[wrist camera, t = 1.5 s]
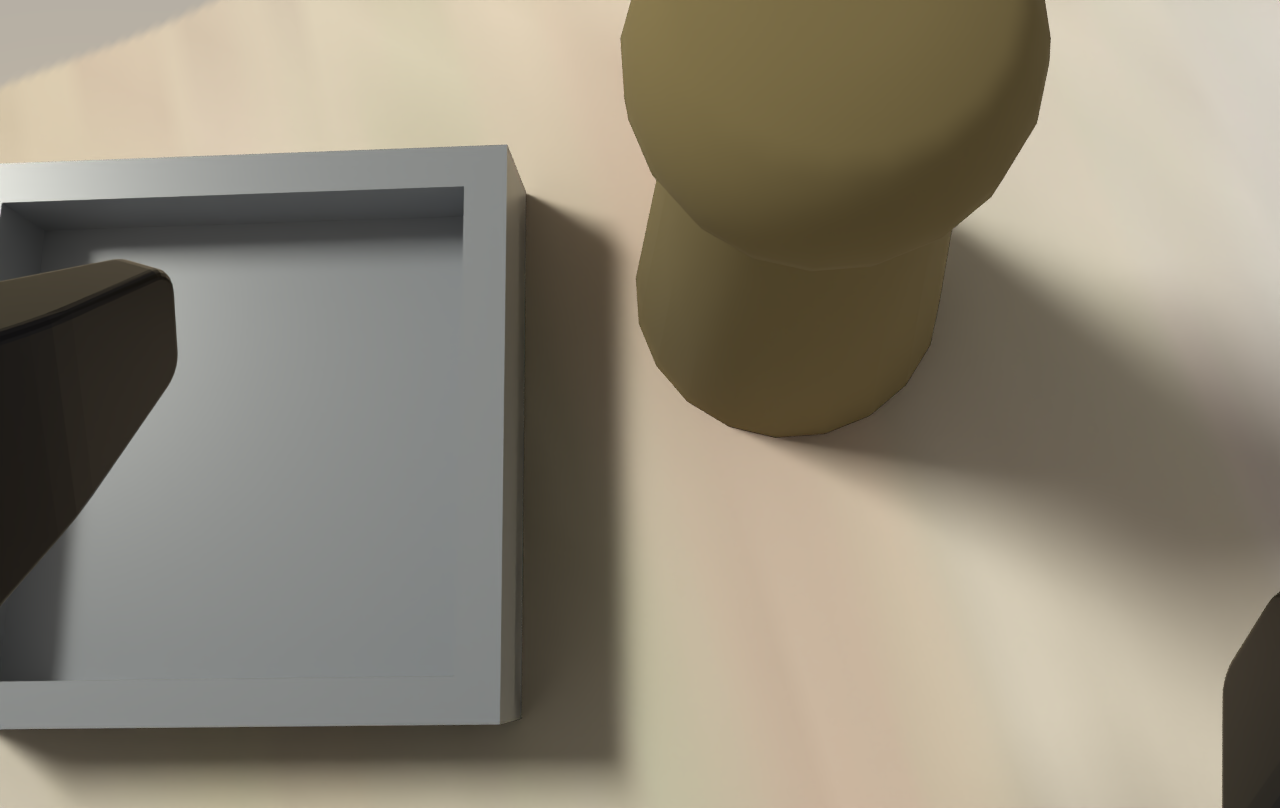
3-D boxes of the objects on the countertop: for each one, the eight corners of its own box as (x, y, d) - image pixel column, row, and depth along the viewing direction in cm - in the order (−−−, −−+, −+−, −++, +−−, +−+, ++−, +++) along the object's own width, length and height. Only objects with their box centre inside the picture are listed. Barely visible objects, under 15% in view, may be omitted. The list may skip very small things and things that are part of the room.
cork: (767, 92, 25) (808, -344, 14) (1002, 272, 24) (1240, -54, 13) (573, 305, 24) (460, 16, 13) (806, 501, 23) (886, 357, 12)
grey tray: (521, 718, 22) (499, 724, 20) (-21, 724, 23) (-101, 730, 21) (525, 192, 25) (507, 145, 22) (32, 209, 25) (-34, 164, 23)
